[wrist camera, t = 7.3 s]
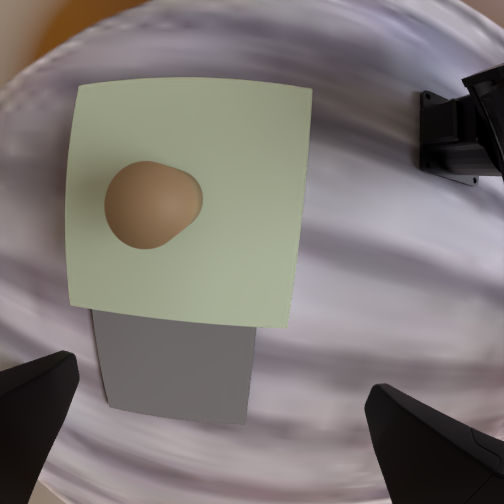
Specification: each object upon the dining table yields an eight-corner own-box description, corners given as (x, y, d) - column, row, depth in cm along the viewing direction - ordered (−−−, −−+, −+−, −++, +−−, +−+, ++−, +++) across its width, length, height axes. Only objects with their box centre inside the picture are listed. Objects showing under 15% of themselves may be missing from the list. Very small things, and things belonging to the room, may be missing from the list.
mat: (259, 293, 20) (259, 295, 19) (245, 421, 22) (245, 424, 22) (91, 277, 19) (89, 279, 18) (111, 404, 21) (109, 407, 21)
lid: (307, 94, 13) (343, 51, 8) (284, 320, 16) (305, 379, 10) (87, 90, 12) (32, 58, 7) (78, 299, 15) (26, 341, 9)
